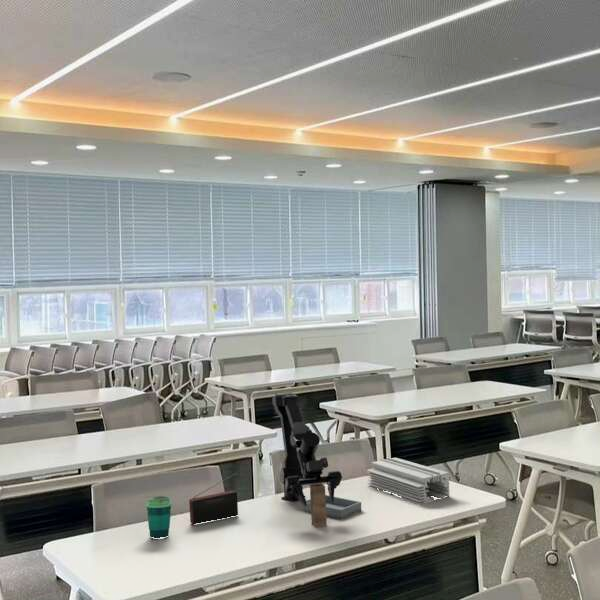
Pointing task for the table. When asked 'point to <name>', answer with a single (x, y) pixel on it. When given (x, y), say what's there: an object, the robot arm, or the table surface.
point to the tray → (338, 507)
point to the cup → (159, 516)
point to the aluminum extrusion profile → (408, 480)
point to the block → (318, 505)
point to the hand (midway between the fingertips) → (319, 503)
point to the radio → (213, 506)
